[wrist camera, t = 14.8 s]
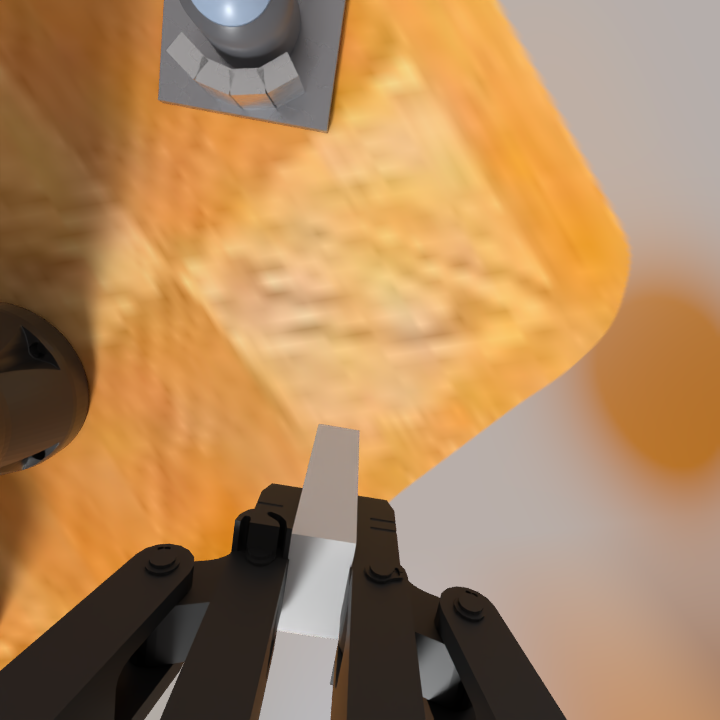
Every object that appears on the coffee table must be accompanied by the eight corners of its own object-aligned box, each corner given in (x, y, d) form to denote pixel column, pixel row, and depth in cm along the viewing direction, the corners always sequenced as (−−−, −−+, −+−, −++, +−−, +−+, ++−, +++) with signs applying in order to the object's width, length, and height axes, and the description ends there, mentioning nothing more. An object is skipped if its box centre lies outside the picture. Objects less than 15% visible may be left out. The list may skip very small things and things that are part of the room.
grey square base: (327, 133, 37) (322, 118, 32) (162, 102, 36) (134, 83, 32) (355, -61, 34) (353, -107, 29) (174, -97, 33) (145, -149, 29)
